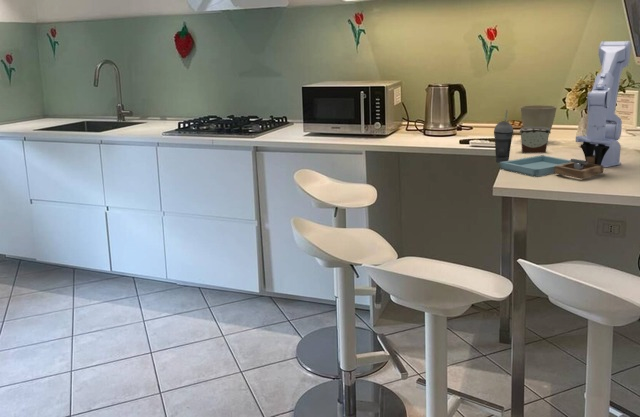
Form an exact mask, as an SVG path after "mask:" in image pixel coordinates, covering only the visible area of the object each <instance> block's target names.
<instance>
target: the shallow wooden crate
mask: <svg viewBox="0 0 640 417" xmlns="http://www.w3.org/2000/svg"><path fill="white" fill-rule="evenodd" d="M585 161H588V164H586V165H585V164H584V167H583V170H578V169H574V162H569V163H565V164H561V165H558V166H554V174H556V175H560V176H561V175H562V176H566V177H570V178H574V179H580V180H583V179H587V178H589V177H593V176H597V175H601V174H604V168H605V167H604V166H603V165H597V164H595V155H591V156H588V157H586V160H585Z"/></svg>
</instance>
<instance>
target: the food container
mask: <svg viewBox="0 0 640 417" xmlns="http://www.w3.org/2000/svg"><path fill="white" fill-rule="evenodd" d="M551 133H552V132H551V131H550V128H546V127H523V126H522V127H521V128H520V129H519V135H520V140H521V141H520V144H521V154H546V153H547V146H548V143H549V136H550V134H551Z"/></svg>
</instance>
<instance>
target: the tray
mask: <svg viewBox="0 0 640 417" xmlns="http://www.w3.org/2000/svg"><path fill="white" fill-rule="evenodd" d="M569 162H571V159H565V158H559V157H554V156H549V155H544V154H540V155H535V156H529V157H523V158H516V159H511V160H510V159H509V160H508V161H504V162H500V163H499V170H502V169H504V170H503V171H508V172H511V171H512V172H511V173H516V172H517V173H516V174H520V173H521V174H520V175H525V174H526V176H531V177H534V176H535V178H536V177H542V176H549V175H553V174H555V173H554V166H558V165H561V164H565V163H569Z"/></svg>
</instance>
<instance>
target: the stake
mask: <svg viewBox="0 0 640 417" xmlns="http://www.w3.org/2000/svg"><path fill="white" fill-rule="evenodd" d="M570 160H571V162H574V169H578V170H583V167H584V164H585V165H586V164H588V161H586V160H583V159H577V158H570Z"/></svg>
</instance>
